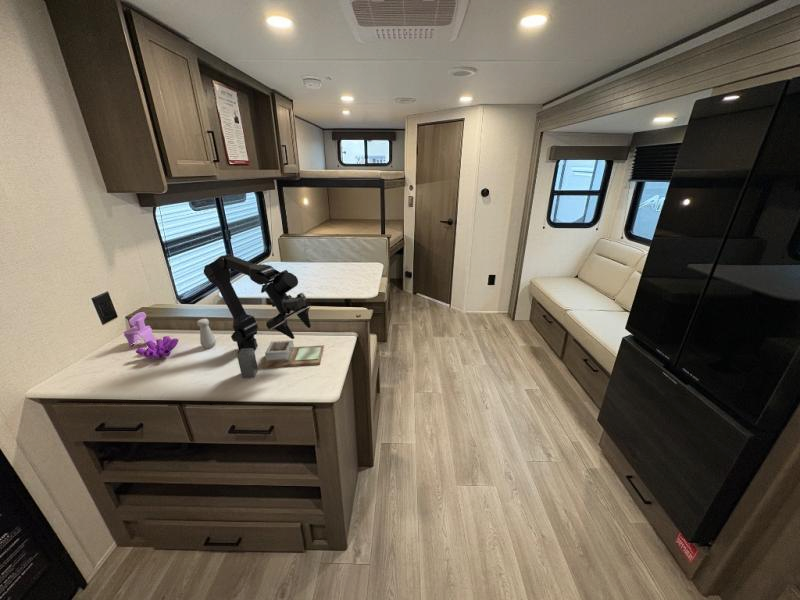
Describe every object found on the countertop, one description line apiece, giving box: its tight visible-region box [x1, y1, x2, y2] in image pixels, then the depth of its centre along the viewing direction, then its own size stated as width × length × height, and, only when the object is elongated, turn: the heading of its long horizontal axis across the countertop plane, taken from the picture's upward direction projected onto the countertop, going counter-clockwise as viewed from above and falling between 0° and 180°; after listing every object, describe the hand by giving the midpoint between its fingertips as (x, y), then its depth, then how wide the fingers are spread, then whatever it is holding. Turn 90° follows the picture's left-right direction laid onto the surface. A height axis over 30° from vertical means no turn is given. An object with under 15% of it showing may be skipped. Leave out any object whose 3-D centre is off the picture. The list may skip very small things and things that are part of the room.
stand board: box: [262, 345, 325, 369], centre depth 127 cm, size 22×13×1 cm, turn 96°
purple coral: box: [135, 335, 180, 359], centre depth 127 cm, size 11×15×10 cm
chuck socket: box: [264, 339, 295, 363], centre depth 125 cm, size 9×9×4 cm
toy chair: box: [123, 311, 158, 347], centre depth 135 cm, size 8×9×15 cm
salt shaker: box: [196, 318, 217, 350], centre depth 132 cm, size 6×6×13 cm
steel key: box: [236, 348, 259, 379], centre depth 114 cm, size 4×4×10 cm
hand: (302, 332), depth 115 cm, fingers open, 9 cm apart
